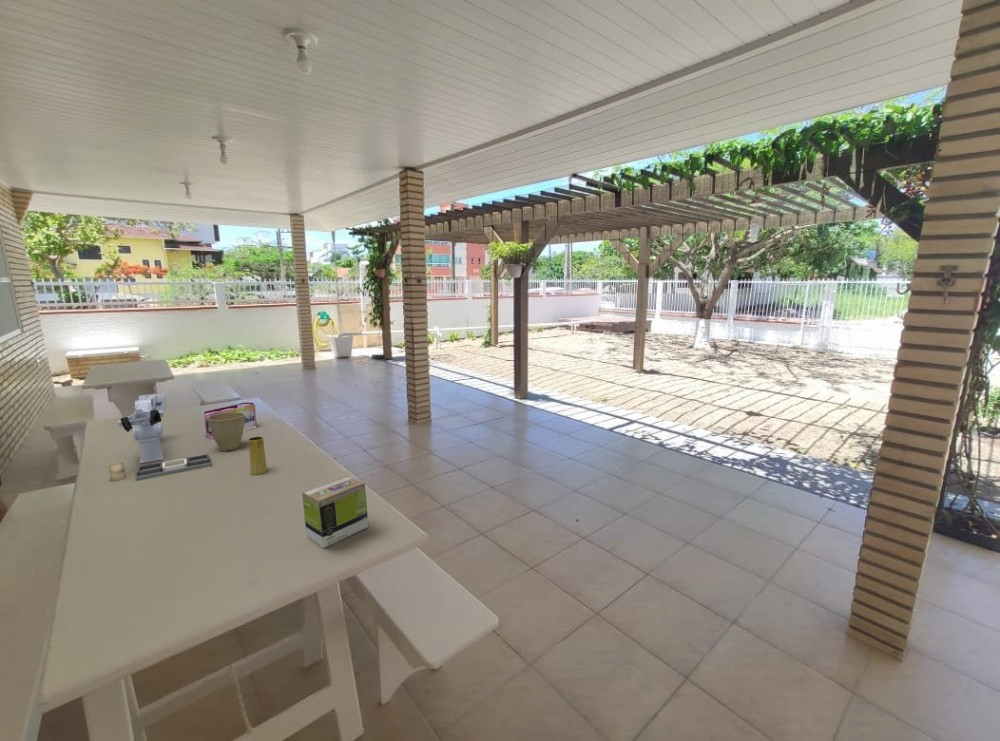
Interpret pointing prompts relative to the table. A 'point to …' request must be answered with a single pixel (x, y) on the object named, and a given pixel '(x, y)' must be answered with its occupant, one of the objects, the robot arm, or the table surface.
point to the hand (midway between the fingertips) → (139, 426)
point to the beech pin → (117, 471)
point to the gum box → (243, 408)
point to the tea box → (335, 510)
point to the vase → (257, 455)
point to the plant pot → (227, 429)
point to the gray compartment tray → (172, 466)
